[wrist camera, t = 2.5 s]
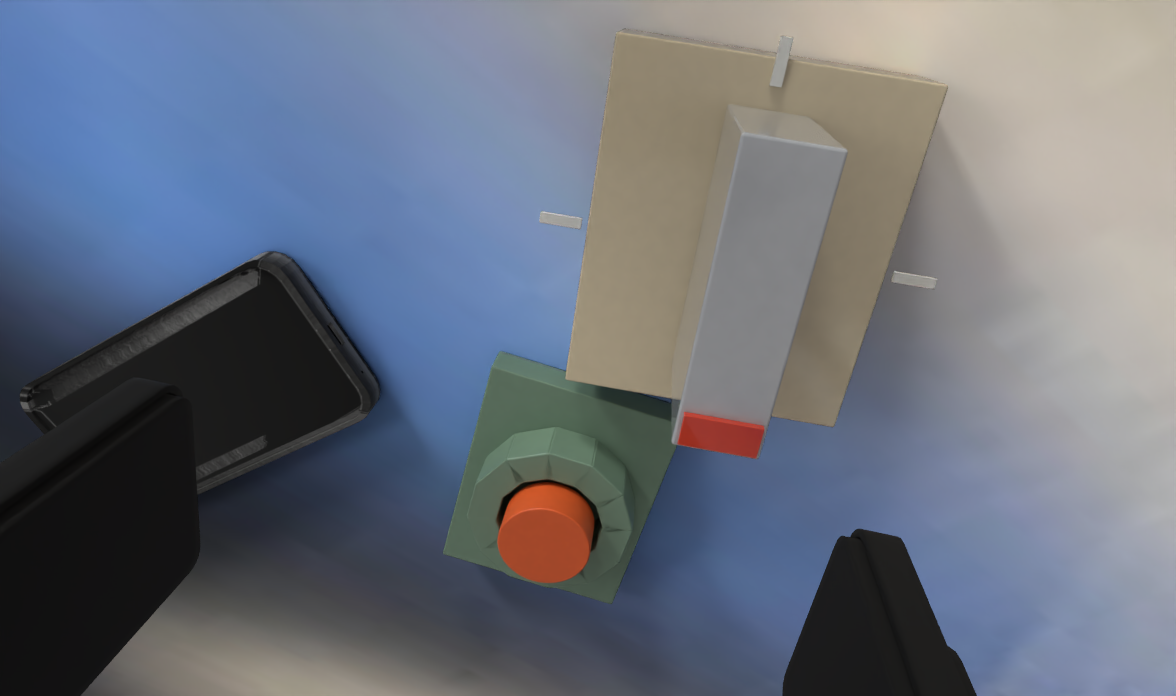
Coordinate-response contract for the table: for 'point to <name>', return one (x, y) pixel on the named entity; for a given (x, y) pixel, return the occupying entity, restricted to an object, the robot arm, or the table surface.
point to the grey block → (750, 276)
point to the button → (546, 533)
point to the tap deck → (679, 193)
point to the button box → (562, 465)
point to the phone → (230, 368)
